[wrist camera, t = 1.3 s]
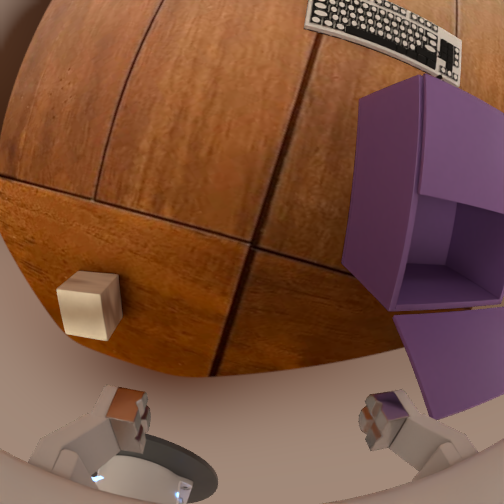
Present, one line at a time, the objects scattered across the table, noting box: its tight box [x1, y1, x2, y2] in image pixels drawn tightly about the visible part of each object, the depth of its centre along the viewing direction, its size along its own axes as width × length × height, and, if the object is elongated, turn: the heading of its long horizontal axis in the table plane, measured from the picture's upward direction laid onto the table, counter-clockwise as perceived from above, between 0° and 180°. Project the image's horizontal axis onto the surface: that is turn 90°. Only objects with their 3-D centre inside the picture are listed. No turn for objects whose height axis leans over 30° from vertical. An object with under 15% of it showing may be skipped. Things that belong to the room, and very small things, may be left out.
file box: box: [341, 74, 504, 311], centre depth 20 cm, size 15×13×10 cm
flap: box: [393, 307, 504, 420], centre depth 14 cm, size 7×13×1 cm
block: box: [57, 271, 123, 341], centre depth 24 cm, size 4×4×4 cm
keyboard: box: [304, 0, 462, 88], centre depth 19 cm, size 17×6×2 cm, turn 81°
